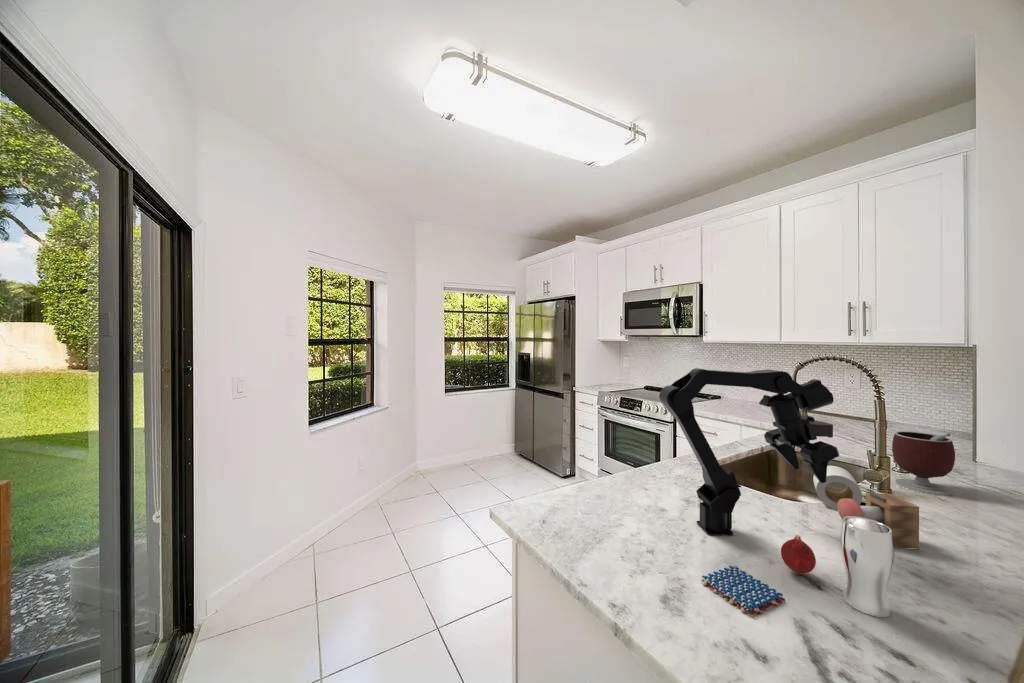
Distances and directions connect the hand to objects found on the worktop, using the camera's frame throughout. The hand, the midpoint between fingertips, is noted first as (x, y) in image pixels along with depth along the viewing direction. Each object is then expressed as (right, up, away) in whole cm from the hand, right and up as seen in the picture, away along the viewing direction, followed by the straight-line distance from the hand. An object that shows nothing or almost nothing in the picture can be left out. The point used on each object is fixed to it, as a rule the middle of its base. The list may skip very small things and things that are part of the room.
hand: (809, 475), depth 93 cm
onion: (-16, -15, -16) cm, 27 cm away
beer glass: (-10, -15, -25) cm, 31 cm away
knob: (+11, -11, -3) cm, 16 cm away
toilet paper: (+21, -15, +17) cm, 31 cm away
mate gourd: (+60, -15, +27) cm, 68 cm away
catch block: (+17, -15, -4) cm, 23 cm away
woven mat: (-31, -16, -22) cm, 41 cm away
